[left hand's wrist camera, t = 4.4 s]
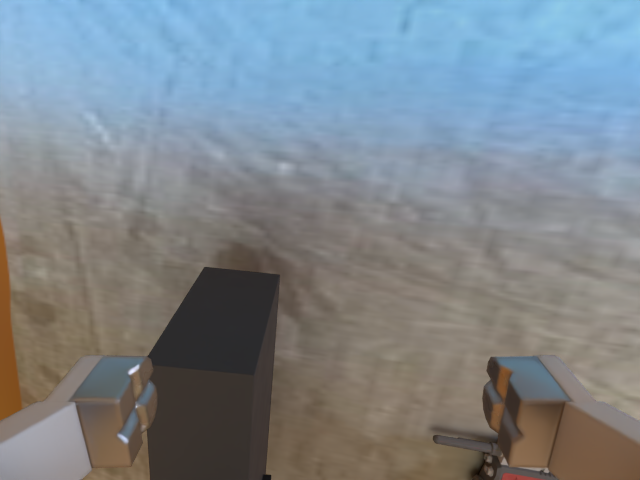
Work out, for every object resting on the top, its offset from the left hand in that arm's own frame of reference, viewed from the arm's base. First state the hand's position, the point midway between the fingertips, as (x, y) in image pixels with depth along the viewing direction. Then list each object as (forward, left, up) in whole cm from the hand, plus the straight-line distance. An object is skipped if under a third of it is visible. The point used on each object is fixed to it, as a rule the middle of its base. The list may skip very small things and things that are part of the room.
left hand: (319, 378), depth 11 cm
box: (+21, -6, -23) cm, 32 cm away
